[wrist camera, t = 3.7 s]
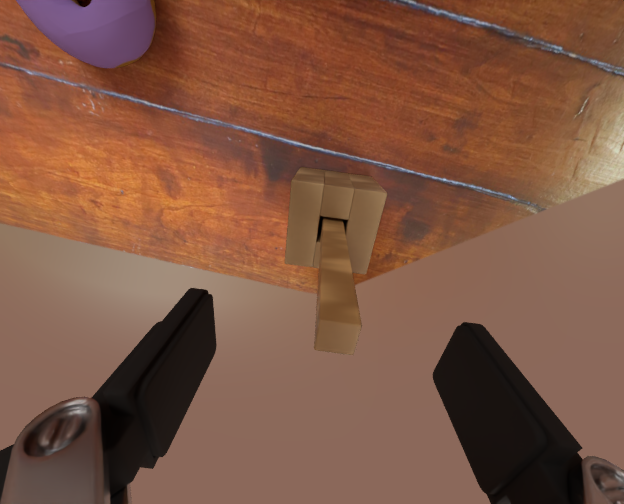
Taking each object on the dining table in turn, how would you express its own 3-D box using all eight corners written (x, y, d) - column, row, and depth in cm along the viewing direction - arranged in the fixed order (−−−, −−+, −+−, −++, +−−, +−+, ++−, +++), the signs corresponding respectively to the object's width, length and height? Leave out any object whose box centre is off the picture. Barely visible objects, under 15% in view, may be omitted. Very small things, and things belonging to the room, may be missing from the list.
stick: (339, 199, 25) (362, 325, 9) (337, 214, 26) (353, 356, 10) (324, 197, 25) (319, 320, 9) (321, 212, 26) (313, 350, 10)
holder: (371, 176, 24) (387, 193, 18) (357, 241, 27) (366, 274, 21) (300, 166, 24) (291, 179, 18) (294, 232, 27) (284, 264, 21)
